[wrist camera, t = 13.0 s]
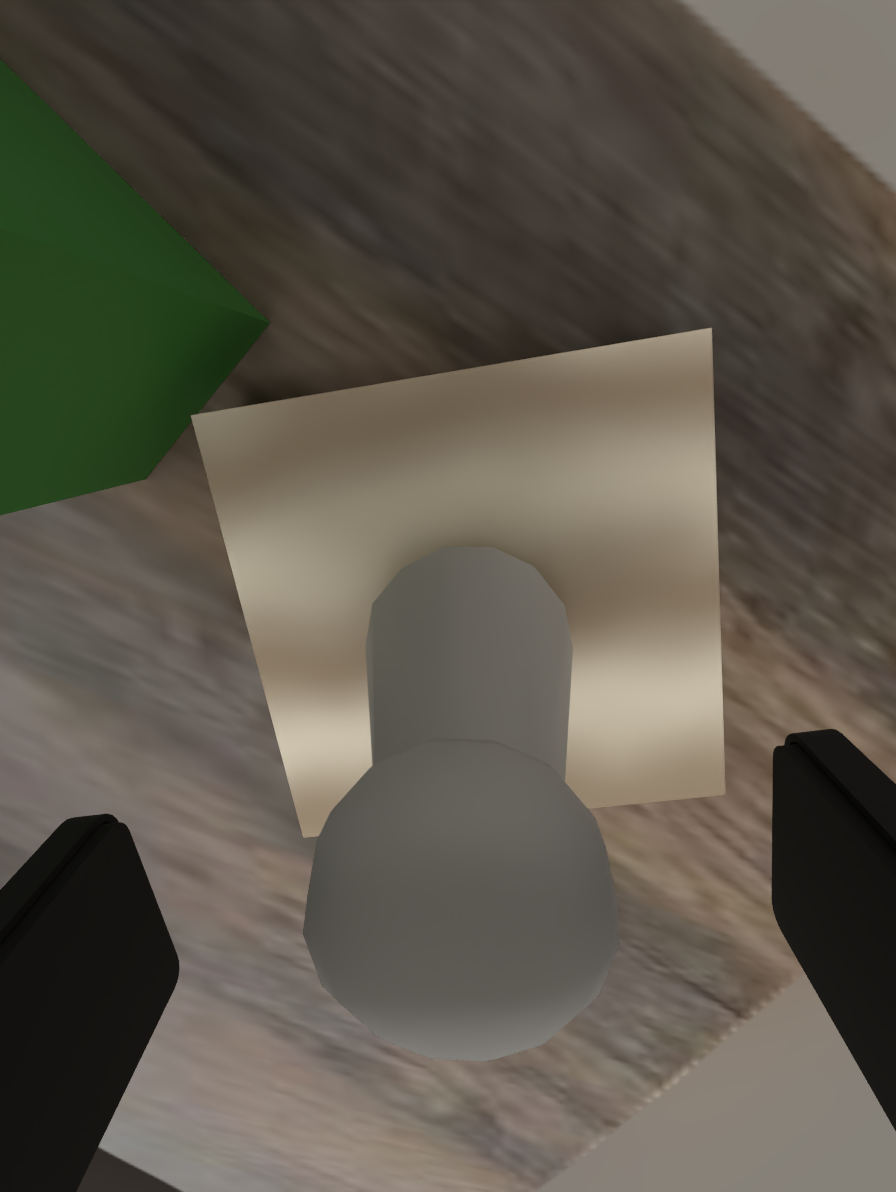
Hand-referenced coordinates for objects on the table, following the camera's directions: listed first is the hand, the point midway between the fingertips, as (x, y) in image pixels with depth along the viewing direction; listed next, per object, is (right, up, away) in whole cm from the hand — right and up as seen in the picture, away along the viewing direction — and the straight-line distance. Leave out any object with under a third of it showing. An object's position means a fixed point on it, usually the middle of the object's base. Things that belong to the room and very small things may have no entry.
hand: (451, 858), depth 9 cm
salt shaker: (+1, +3, +11) cm, 12 cm away
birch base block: (+1, +4, +15) cm, 15 cm away
